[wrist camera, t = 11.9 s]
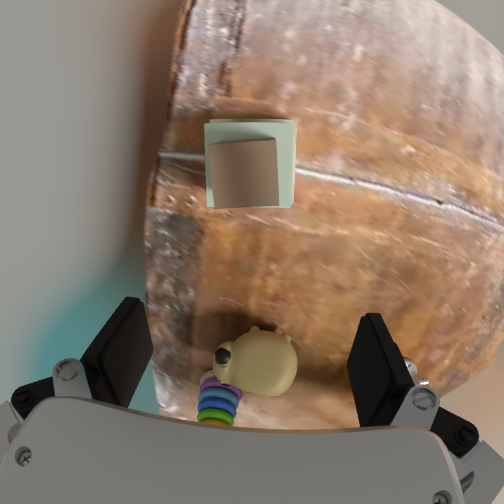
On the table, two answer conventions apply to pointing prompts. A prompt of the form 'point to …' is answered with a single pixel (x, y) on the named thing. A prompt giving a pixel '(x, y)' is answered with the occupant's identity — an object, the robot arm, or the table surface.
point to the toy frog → (257, 363)
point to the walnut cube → (244, 173)
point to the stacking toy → (217, 401)
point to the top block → (255, 131)
